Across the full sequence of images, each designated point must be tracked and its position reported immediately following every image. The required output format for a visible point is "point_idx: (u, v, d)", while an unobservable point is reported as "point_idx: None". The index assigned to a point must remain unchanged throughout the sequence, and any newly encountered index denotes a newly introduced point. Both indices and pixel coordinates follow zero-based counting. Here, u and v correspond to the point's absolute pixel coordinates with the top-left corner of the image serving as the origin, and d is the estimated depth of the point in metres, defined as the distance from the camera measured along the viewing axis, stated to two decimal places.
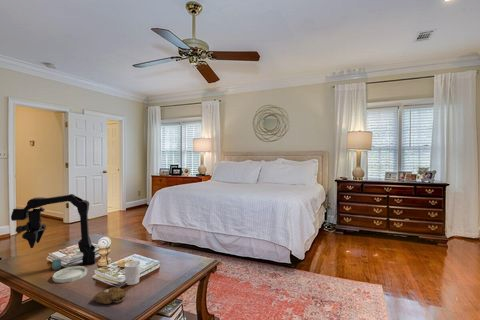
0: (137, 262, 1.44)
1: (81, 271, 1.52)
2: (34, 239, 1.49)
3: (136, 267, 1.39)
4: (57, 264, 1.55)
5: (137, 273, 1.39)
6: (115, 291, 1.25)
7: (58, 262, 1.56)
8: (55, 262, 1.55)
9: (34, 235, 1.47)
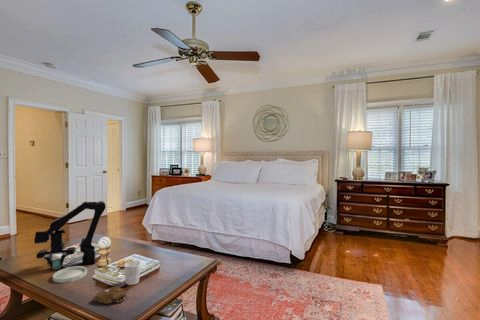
0: (137, 262, 1.44)
1: (81, 271, 1.52)
2: None
3: (136, 267, 1.39)
4: (57, 264, 1.55)
5: (137, 273, 1.39)
6: (115, 291, 1.26)
7: (58, 262, 1.56)
8: (55, 262, 1.55)
9: (36, 256, 1.51)
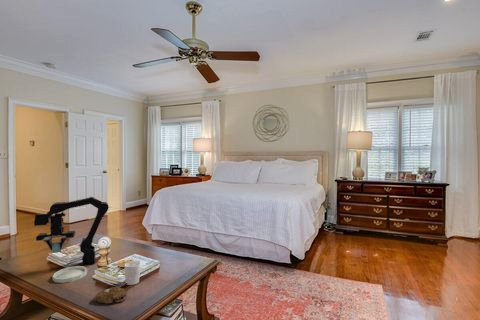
0: (137, 262, 1.44)
1: (81, 271, 1.52)
2: None
3: (136, 267, 1.39)
4: (57, 247, 1.55)
5: (137, 273, 1.39)
6: (116, 290, 1.26)
7: (58, 245, 1.56)
8: (55, 245, 1.55)
9: (36, 238, 1.51)
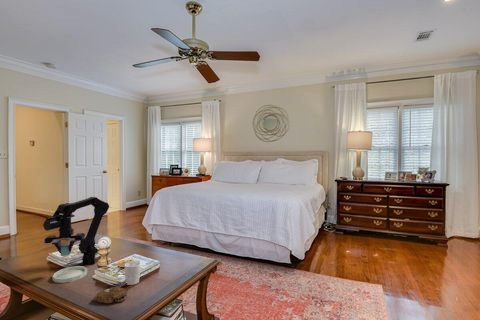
0: (137, 262, 1.44)
1: (81, 271, 1.52)
2: None
3: (136, 267, 1.39)
4: (65, 250, 1.49)
5: (137, 273, 1.39)
6: (116, 290, 1.26)
7: (66, 248, 1.49)
8: (63, 248, 1.48)
9: (44, 241, 1.45)
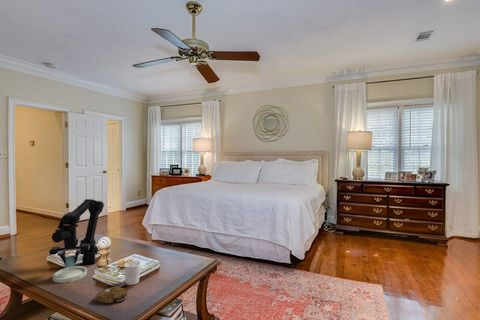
0: (137, 262, 1.44)
1: (81, 271, 1.52)
2: None
3: (136, 267, 1.39)
4: (71, 261, 1.46)
5: (137, 273, 1.39)
6: (116, 290, 1.26)
7: (72, 259, 1.46)
8: (69, 259, 1.45)
9: (49, 253, 1.42)
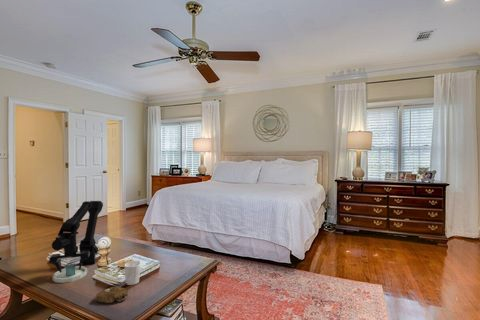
0: (137, 262, 1.44)
1: (81, 271, 1.52)
2: None
3: (136, 267, 1.39)
4: (71, 270, 1.46)
5: (137, 273, 1.39)
6: (116, 290, 1.26)
7: (72, 268, 1.46)
8: (69, 268, 1.46)
9: (49, 260, 1.42)
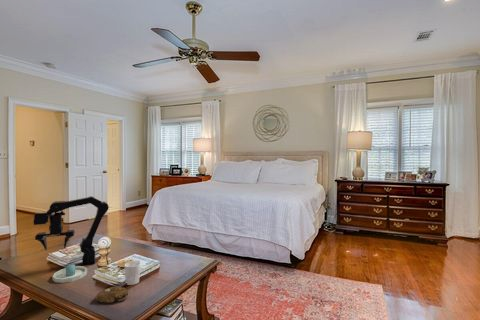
0: (137, 262, 1.44)
1: (81, 271, 1.52)
2: None
3: (136, 267, 1.39)
4: (71, 270, 1.46)
5: (137, 273, 1.39)
6: (117, 290, 1.26)
7: (72, 268, 1.46)
8: (69, 268, 1.46)
9: (35, 238, 1.49)
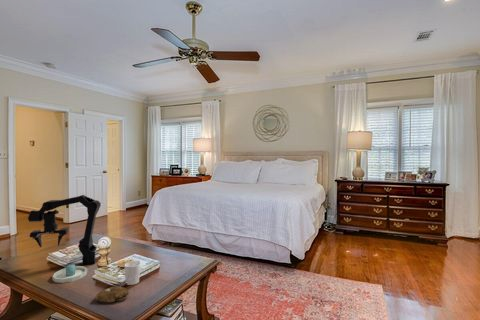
0: (137, 262, 1.44)
1: (81, 271, 1.52)
2: None
3: (136, 267, 1.39)
4: (71, 270, 1.46)
5: (137, 273, 1.39)
6: (117, 289, 1.27)
7: (72, 268, 1.46)
8: (69, 268, 1.46)
9: (30, 235, 1.55)
